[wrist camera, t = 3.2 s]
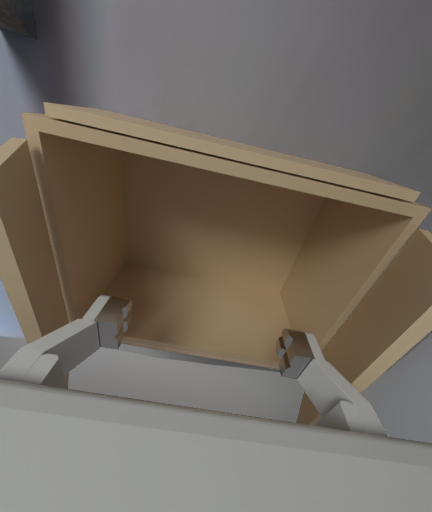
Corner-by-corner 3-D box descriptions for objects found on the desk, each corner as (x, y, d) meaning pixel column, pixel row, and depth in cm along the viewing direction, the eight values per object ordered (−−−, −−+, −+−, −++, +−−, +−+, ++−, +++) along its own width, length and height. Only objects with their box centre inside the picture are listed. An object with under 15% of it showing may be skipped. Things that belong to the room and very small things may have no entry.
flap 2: (418, 227, 11) (460, 277, 6) (429, 231, 11) (481, 285, 6) (310, 367, 18) (292, 440, 13) (316, 371, 18) (300, 446, 13)
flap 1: (12, 137, 9) (-42, 176, 5) (27, 139, 10) (-14, 178, 5) (62, 328, 16) (56, 412, 12) (70, 326, 16) (67, 409, 12)
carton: (118, 110, 18) (17, 96, 9) (345, 165, 19) (440, 197, 10) (123, 268, 26) (72, 337, 18) (279, 297, 27) (303, 375, 19)
